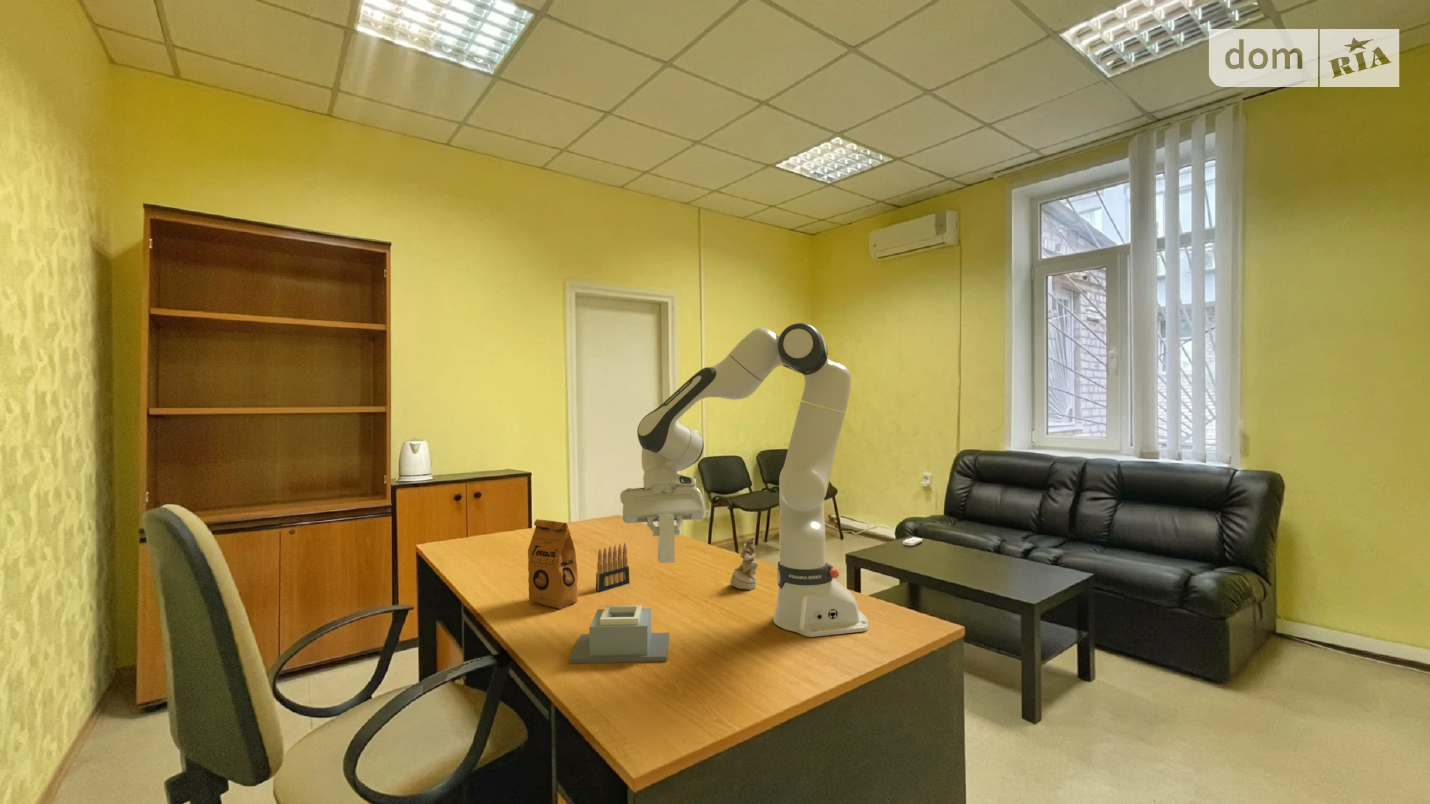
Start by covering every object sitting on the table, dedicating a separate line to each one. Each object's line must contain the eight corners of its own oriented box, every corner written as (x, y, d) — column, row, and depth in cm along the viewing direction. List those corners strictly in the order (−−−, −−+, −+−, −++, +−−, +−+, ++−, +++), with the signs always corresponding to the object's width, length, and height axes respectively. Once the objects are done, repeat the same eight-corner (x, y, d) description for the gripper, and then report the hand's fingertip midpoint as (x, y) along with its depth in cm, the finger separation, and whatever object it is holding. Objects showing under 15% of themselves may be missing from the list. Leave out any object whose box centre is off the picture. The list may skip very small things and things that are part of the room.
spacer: (641, 610, 127) (641, 604, 127) (638, 624, 119) (638, 618, 119) (606, 610, 127) (605, 605, 127) (599, 625, 119) (599, 619, 119)
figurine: (758, 595, 162) (773, 545, 162) (736, 592, 159) (751, 541, 159) (746, 584, 168) (761, 536, 168) (725, 581, 165) (740, 532, 165)
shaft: (672, 558, 138) (672, 512, 138) (674, 562, 134) (674, 515, 134) (658, 559, 137) (657, 513, 137) (659, 563, 134) (659, 516, 134)
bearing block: (669, 636, 129) (669, 606, 129) (666, 661, 117) (666, 627, 117) (581, 638, 129) (580, 607, 129) (569, 663, 117) (568, 629, 117)
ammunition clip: (599, 592, 160) (599, 549, 160) (595, 590, 161) (595, 548, 161) (629, 583, 167) (629, 542, 167) (625, 581, 169) (625, 541, 169)
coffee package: (556, 613, 144) (555, 526, 144) (523, 604, 151) (522, 521, 151) (584, 601, 153) (583, 519, 153) (551, 593, 159) (551, 515, 159)
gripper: (620, 481, 140) (622, 529, 131) (701, 478, 144) (709, 524, 135) (619, 496, 145) (621, 544, 135) (698, 492, 149) (706, 538, 139)
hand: (666, 534), depth 135 cm, fingers closed on shaft, 3 cm apart
